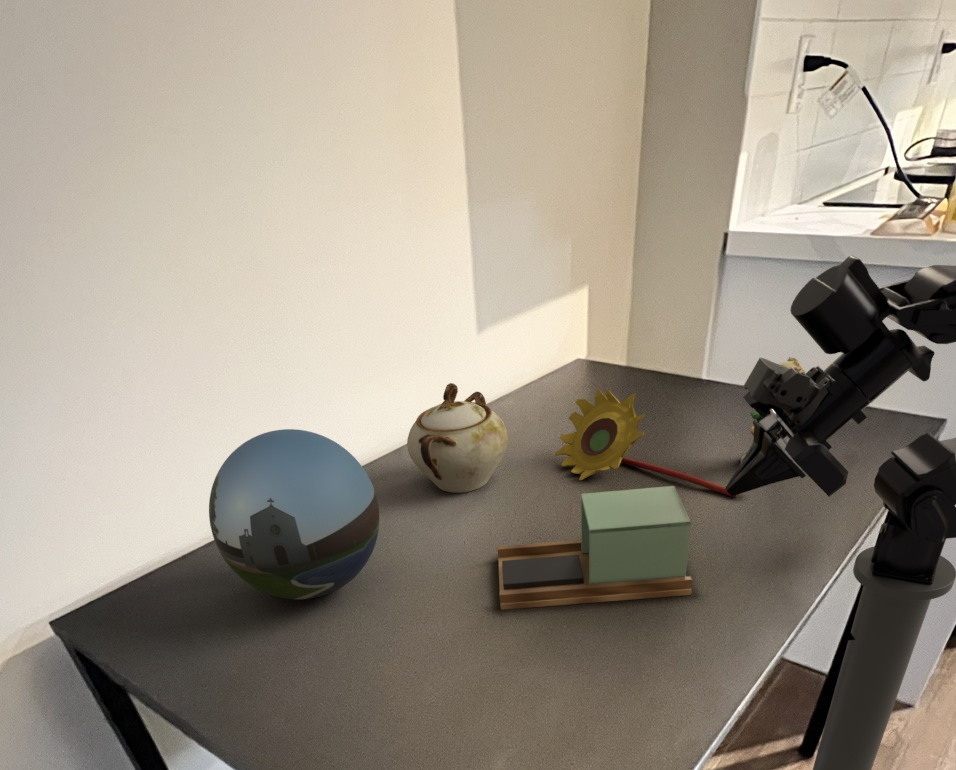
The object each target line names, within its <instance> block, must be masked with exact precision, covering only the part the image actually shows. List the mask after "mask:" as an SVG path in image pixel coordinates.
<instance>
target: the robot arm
mask: <svg viewBox="0 0 956 770" xmlns="http://www.w3.org/2000/svg"><path fill="white" fill-rule="evenodd" d="M790 314H791V316H792V317H794V319H795V320H796V321H797V322H798V324H799V325H800V326H801V327H802V329H804V330H805V331H806V333H807V334H808V335H809V336H810V338H812V339H813V341H814V343H816V344H817V346H818V347H819V348H820V349H821V350H822V351H823V353H825V354H827V355H836V354H838V353H841V354H840V355H839V356H838V357H837V358H836V359H835V360H834V361H833V362H832V363H830V364H829V365H828V366H827V367H826V368H825V369H824V370H823V368H822V367H820V366H819V365H817V366H813V367H811V368H810V369H809V370H808V371H807V372H805V373H804V372H802V373H799V372H798V371H797V370H795V369H794V368H791V369H789V368H786V367H784V366H781V365H779V363H776V362H774V361H772V360H769V359H767V358H765V357H759V358H758V360H757V361H756V363H755V365H754V367H753V368H752V370H751V372H750V374H749V375H748V377H747V379H746V381H745V382H744V384H743V389H744V390H748V391H747V392H746V393H745V395H744V396H742V398H743V400H745V402H746V403H747V405H748V406H749V407H750V408H751V409H754V411H755V412H758V413H759V414H760V416H761V417H762V418H763V420H761V421H760V422H758V421H757V420H756V419H753V422H752V425H753V426H754V436H753V440H752V443H751V445H750V447H749V449H747V450H748V451H746V453H747V454H746V456H745V457H744V459H743V460H742V462H741V461H740V464H739V465H738V467H737V468H736V470H735V471H734V473H733V475H732V476H731V478H730V479H729V481H728V482H727V484H726V486H725V487H726V490H727V492H728V493H729V494H730V495H731V496H730V497H732V496H735V495H738V496H739V495H741V494H744V493H748V492H750V491H753V490H756V489H759V488H762V487H763V488H764V487H766V486H768V485H772V484H775V483H779V482H782V481H783V482H784V481H787V480H791V479H794V478H801V479H804V478H806V477H807V476H808V477H809V478H810V479H811V480H812V481H813V482H814V483H815V484H816V486H817V487H819V489H820V490H822V492H824V493H825V495H826V496H828V498H830V497H832V496H833V495H834V494H836V492H838V491H840V489H841V488H843V487H844V486H845V485H846V484H847V479H848V476H849V470H848V469H847V468H846V467H845V466H844V465H843V464H842V463H841V461H839V460H838V458H837V457H835V455H834V454H833V453H832V452H831V451H830V450H831V449H832V448H833V446H832V445H831V444H830V443H829V442H828V441H829V440H830V439H832V437H834V436H835V435H836V434H838V432H840V431H841V430H842V429H843V428H844V427H845V426H846V425H848V424H849V422H851V421H854V422H855V424H857V425H860V424H861V423H862V422H864V421H865V420H866V419H867V418H868V416H867V415H866V414H865V413H864V412H863V411H864V410H865V409H866V408H867V407H868V406H869V405H870V404H872V403H873V402H874V401H875V400H876V399H878V398H879V397H880V396H881V395H883V393H885V392H886V391H887V390H888V389H889V388H890V387H892V386H893V385H894V384H895V383H896V382H898V381H899V380H900V379H901V378H902V377H904V375H906V374H907V372H909V373H910V374H912V375H913V376H915V377H916V378H917V379H918V380H920V381H922V382H927V381H929V379H930V377H931V372H932V371H931V370H932V361H933V358H934V356H935V351H934V350H932V349H931V348H930V347H928V346H926V345H920V346H918V345H916V343H915V342H914V341H913V340H912V338H911V337H910V336H909V334H908V333H907V332H906V331H905V330H907V331H913V332H915V333H916V334H918V335H919V336H922V337H923V338H925V339H926V340H928V341H929V342H931V343H933V344H937V345H949V344H953V343H956V265H948V264H947V265H946V264H933V265H929V266H926V267H923V268H921V269H919V270H918V271H915V273H914V275H913V277H911V278H910V279H906V280H903V281H902V280H901V281H898V282H894V283H890V284H886V285H881V286H878V285H877V283H876V282H875V281H874V279H873V278H872V277H871V276H870V273H869V269H868V268H867V266H866V265H865V264H864V262H863V260H861V259H860V258H858V257H856V256H855V255H851V254H850V255H848V256H847V257H846V258H845V259H844V260H843V261H842V262H841V263H840V264H837V265H834V266H831V267H830V268H828V269H826V270H825V271H823V272H821V273H820V274H819V275H817V276H816V277H812V278H810V279H809V280H808V281H807V282H806V284H805V285H804V286H803V287H802V288H801V289H800V290H799V292H798V293H797V294H796V295H795V297H794V299H793V300H792V303H791V306H790ZM887 318H888V319H889V320H891V321H893V322H894V323H896V324H897V325H899V326H901V327H903V328H904V329H905V330H904V329H901V328H893V329H890V328H888V326H887V325H886V324H885V323H884V320H886V319H887ZM890 454H891V456H890V457H889V458H888V459H887V460H885V461H884V462H883V463H882V464H881V465H880V466H879V467H878V468H877V469H878V470H877V473H876V474H875V477H874V482H873V489H874V492H875V494H876V495H877V496H878V497H879V498H880V500H882V505H883V507H884V508H885V509H886V510H887V511H888V512H890V514H889V516H888V520H887V522H886V523H885V522H884V523H882V524H881V526H880V528H879V530H878V534H877V537H876V542H875V544H874V546H875V548H874V552H873V555H872V559H871V562H872V563H875V564H874V567H873V570H872V574H873V575H875V576H881V577H886V578H892V579H897V580H903V581H909V582H914V583H920V584H926V585H932V584H933V582H934V577H935V573H936V568H937V564H938V561H939V558H940V555H941V556H942V552H943V549H944V546H945V543H946V540H947V539H956V437H953V438H948V439H943V440H939V439H938V438H937V437H936V436H934V435H933V434H932V433H931V432H926V433H924V434H922V435H920V436H918V437H916V438H915V439H913V440H912V441H911V442H910V443H909V444H907V445H905V446H903V447H901V448H899V449H895V450H892V451H891V452H890Z"/></svg>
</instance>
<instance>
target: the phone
mask: <svg viewBox="0 0 956 770" xmlns="http://www.w3.org/2000/svg"><path fill="white" fill-rule="evenodd" d="M502 567H503V586H504V590H505V589H518V588H530V587H543V586H555V585H568V584H580V583H584V578H583V573H582V568H581V563H580V558H579V555H566V556H554V557H542V558H529V559H517V560H505V561H502Z"/></svg>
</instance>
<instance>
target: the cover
mask: <svg viewBox="0 0 956 770" xmlns="http://www.w3.org/2000/svg"><path fill="white" fill-rule="evenodd" d="M691 524H692V521H691V519H690V517H689V515H688V513H687V511H686V508H685V507H684V504H683V502H682V500H681V498H680V496H679V493H678V491H677V489H676V487H675V485H669V486H667V485H666V486H656V487H645V488H644V487H643V488H635V489H634V488H632V489H621V490H611V491H610V490H609V491H599V492H598V491H597V492H587V493H580V534H581V535H580V538H581V539H580V540H581V552H582V553H589V584H599V583H612V582H624V581H637V580H649V579H662V578H674V577H685V576H686V577H687V575H686V574H687V565H688V556H689V555H688V554H689V544H690V534H691Z"/></svg>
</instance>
